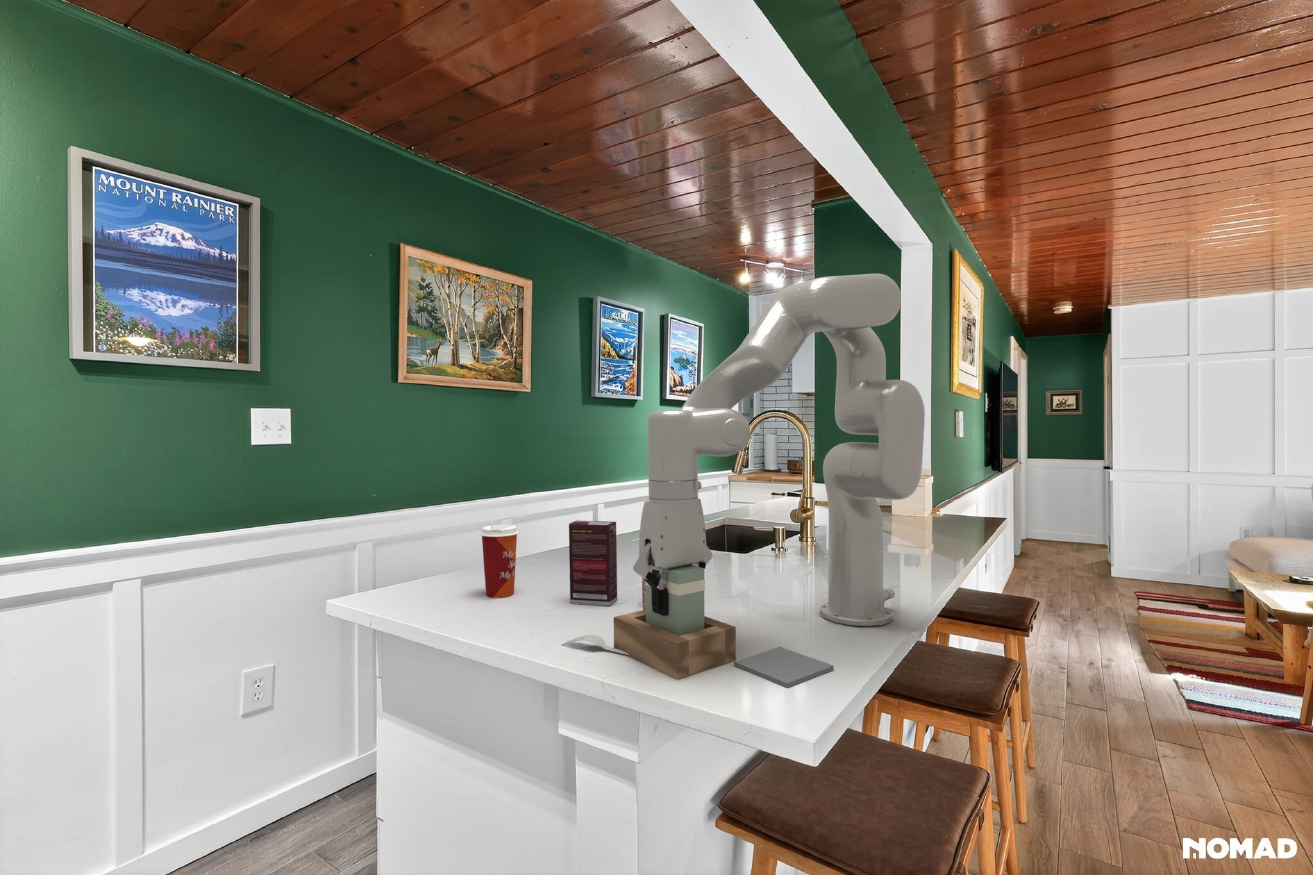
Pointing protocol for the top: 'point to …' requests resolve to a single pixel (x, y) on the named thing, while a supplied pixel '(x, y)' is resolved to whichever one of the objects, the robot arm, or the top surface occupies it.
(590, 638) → the fork
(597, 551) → the supplement box
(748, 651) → the top surface
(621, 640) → the frame
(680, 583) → the tea box
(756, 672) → the coaster
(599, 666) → the top surface
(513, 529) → the paper cup
